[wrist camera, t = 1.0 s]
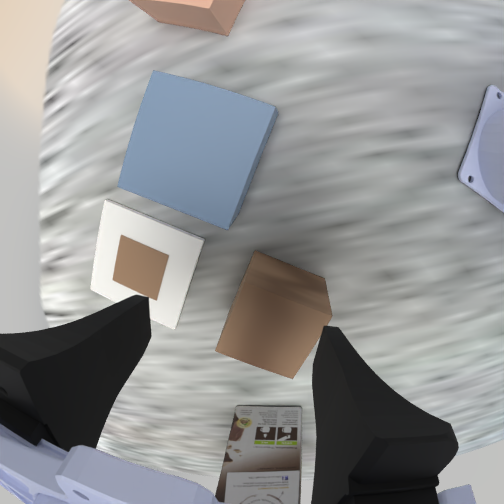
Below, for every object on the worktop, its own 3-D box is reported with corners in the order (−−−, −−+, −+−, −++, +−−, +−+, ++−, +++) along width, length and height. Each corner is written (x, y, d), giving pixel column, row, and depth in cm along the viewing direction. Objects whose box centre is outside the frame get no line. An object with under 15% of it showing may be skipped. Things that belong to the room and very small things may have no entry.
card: (205, 239, 21) (203, 241, 21) (176, 327, 24) (174, 330, 24) (107, 199, 21) (104, 200, 21) (92, 287, 24) (89, 290, 24)
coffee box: (233, 404, 27) (194, 562, 12) (303, 404, 26) (297, 571, 11) (243, 454, 30) (219, 578, 15) (301, 455, 29) (293, 584, 14)
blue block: (278, 113, 18) (275, 106, 14) (239, 213, 21) (227, 230, 17) (177, 80, 18) (153, 70, 14) (146, 177, 21) (117, 186, 17)
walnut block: (324, 278, 21) (332, 316, 17) (293, 334, 23) (292, 378, 19) (255, 249, 21) (244, 281, 17) (229, 310, 23) (215, 351, 18)
